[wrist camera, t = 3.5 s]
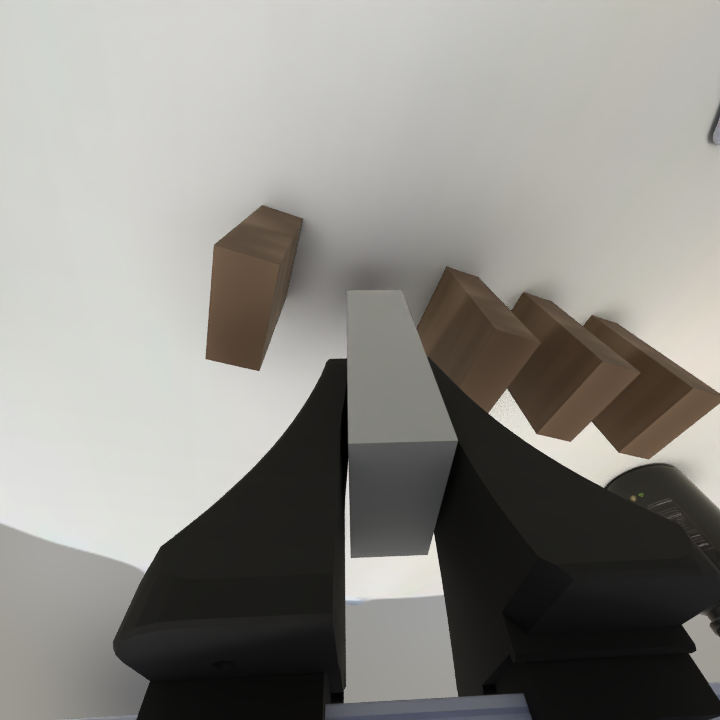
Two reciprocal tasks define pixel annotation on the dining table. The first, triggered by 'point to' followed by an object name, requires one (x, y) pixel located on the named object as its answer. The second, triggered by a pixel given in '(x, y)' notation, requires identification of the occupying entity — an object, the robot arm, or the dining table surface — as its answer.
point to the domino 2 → (393, 429)
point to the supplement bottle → (676, 510)
